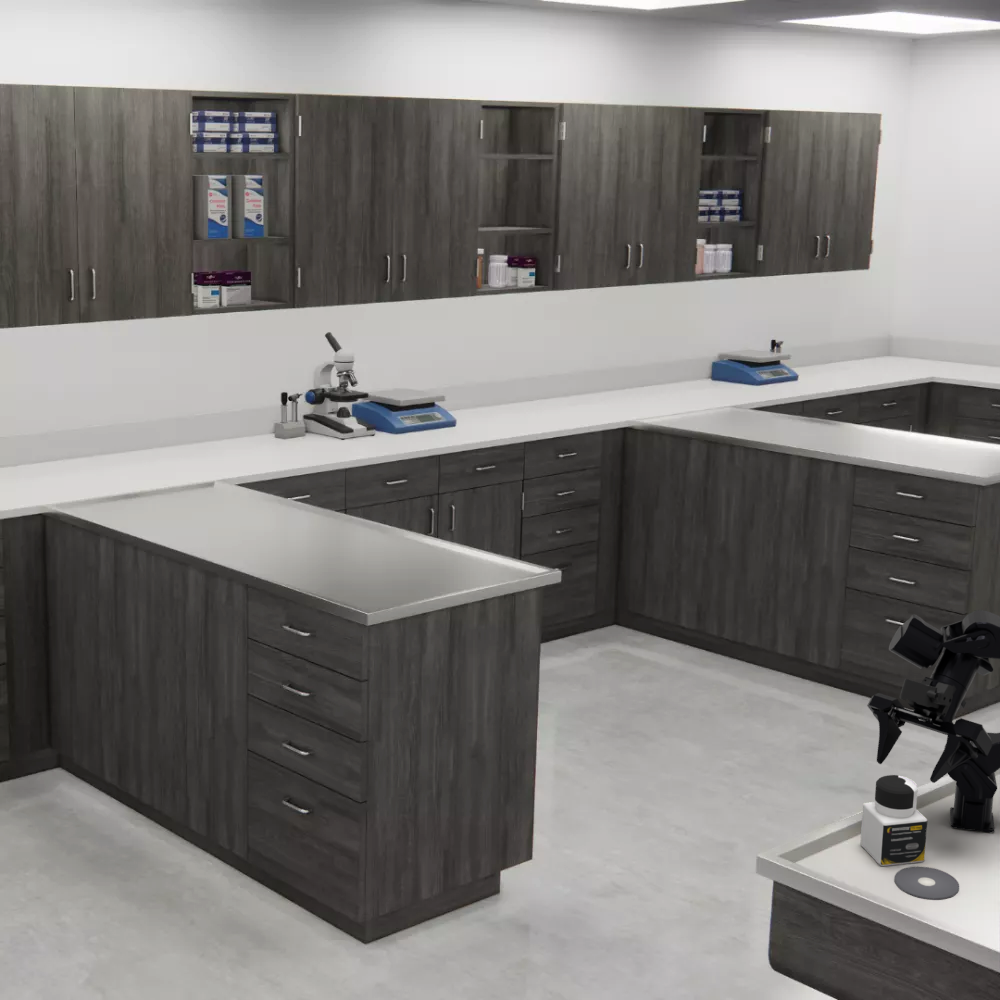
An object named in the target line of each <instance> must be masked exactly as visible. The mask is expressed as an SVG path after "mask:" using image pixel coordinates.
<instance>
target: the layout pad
mask: <svg viewBox="0 0 1000 1000" xmlns="http://www.w3.org/2000/svg"><path fill="white" fill-rule="evenodd" d="M894 884H895V885H896V886H897V887H898V889H899V890H901V891H902V892H904V893H906V894H908V895H910V896H913V897H916V898H921V899H924V900H938V901H939V900H946V899H949V898H951V897H954V896H956V895H957V894H958V893H959V890H960V884H959V881H958V880H957V879H956V878H955V877H954V876H952V875H951V874H949V873H948V872H945V871H944V870H941V869H937V868H935V867H934V868H933V867H929V866H918V865H917V866H909V867H904V868H901V869H900V870H898V871H897V872H896V873H895V875H894Z"/></svg>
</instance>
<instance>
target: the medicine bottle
mask: <svg viewBox="0 0 1000 1000" xmlns="http://www.w3.org/2000/svg"><path fill="white" fill-rule="evenodd" d="M918 787H919V786H918V784H917V783H916V782H915V781H914V780H913V779H911V778H910V777H909V778H908V777H906V776H903V775H897V774H890V775H889V774H888V775H883V776H881V777H879V778H878V779H877V780H876V782H875V792H874V801H870V802H863V804H862V813H861V829H860V846H861V847H863V849H864V850H865V851H866V852H867V853H868V854H869V855H870V856H871V857H872V858H873V860H874V861H876V863H878V865H879V866H880V867H888V866H889V867H890V866H897V865H907V864H913V863H914V864H916V863H923V862H925V856H926V841H927V831H928V829H927V828H928V818H927V817H925V816H924V814H922V813H921V812H920V811H919V810H918V809H917V806H918V805H917V804H918V791H919V790H918Z"/></svg>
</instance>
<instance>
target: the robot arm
mask: <svg viewBox="0 0 1000 1000" xmlns="http://www.w3.org/2000/svg"><path fill="white" fill-rule="evenodd" d="M888 651H890V652H891V653H893V654H895V655H897V656H898V657H899V658H901V659H903V660H905V661H906V662H908V663H910V664H912V665H914V666H915V667H917V668H919V669H920V670H921V669H923V668H924V669H928V668H929V667H930V668H932V667H933V666H934V665H935V664H936V666H935V668H934V669H933V671H932V673H931V674H930V677H928V676H925V677H924V678H922V679H923V680H921V682H918V681H915V680H911V679H908V678H904V680H903V684H902V688H901V691H900V693H899V698H896V697H894V696H890V695H886V694H884V693H881V692H878V693H875V694H874V695H872V696H871V698H869V699H870V700H869V701H868V704H867V705H866V707H867V708H868V709H869V710H870V711H871V713H872V715H873V716H874V717H875V719H876V720H877V722H878V726H879V727H878V729H879V731H878V732H879V733H878V734H879V735H878V743H877V744H878V745H877V751H876V752H877V754H876V763H878V764H879V765H882V764H883V762H885V760H886V759H887V758H888V757H889V754H890V752H891V751H892V750H893V748H894V746H895V744H896V742H898V740H899V738H900V737H901V735H902V732H903V731H902V730H901V727H903V726H905V724H906V723H908V724H912V725H915V726H917V727H920V728H924V729H927V730H930V731H933V732H936V733H939V734H943V735H946V736H947V738H946V743H945V745H944V748H943V749H944V750H943V751H942V753H941V755H940V757H939V759H938V761H937V762H936V764H935V766H934V768H933V769H932V773H931V775H930V778H929V780H930V781H931V782H932V784H935V783H936V782H938V781H939V780H940V779H942V778H943V777H944V776H946V775H948V777H950V778H951V779H952V780H953V781H955V782H956V783H955V790H954V791H955V792H954V804H953V807H950V808H949V816H950V818H949V820H950V827H951V828H954V829H959V830H967V831H969V830H970V831H978V832H983V833H984V832H985V833H995V828H996V827H995V820H994V819H995V818H994V814H993V802H994V796H995V794H996V792H997V790H998V783H997V779H996V772H997V771H998V770H1000V732H997V733H995V732H988V731H987V730H986V729H985V728H984V725H983V724H980V723H977V722H974V721H972V720H968V719H964V718H961V717H960V718H958V719H956V720H955V722H953V721H954V719H955V717H956V715H957V713H958V710H959V709H960V708H961V709H965V706H966V704H967V702H966V700H965V696H966V694H967V692H968V691H969V689H970V687H971V685H972V682H973V681H974V678H975V676H976V674H979V675H981V676H986V675H989V674H991V673H993V672H994V667H993V665H992V664H991V662H990V659H993V660H994V659H995V660H997V659H998V660H1000V615H998V614H996V613H993V612H990V611H988V610H985V609H984V610H982V609H976V610H974V611H972V612H970V613H968V614H967V615H966V616H965V617H964V618H963V619H962V620H957V621H956V622H951V623H950V624H949V623H948V624H946V625H943V626H941V627H940V629H938V628H937V627H935V626H933V625H932V624H930V623H929V622H926V621H925V620H924V619H923V618H922V617H920V616H919V615H917V614H916V613H913V614H911V615H910V617H909V619H907V620H906V621H904V622H903V624H902V625H899V627H898V629H897V630H896V632H895V633H894V635H893V636H892V638H891V641H890V643H889V646H888ZM937 661H938V662H937ZM936 662H937V663H936ZM899 699H900V700H902V701H903V700H904V701H908V702H907V704H908V705H909V707H910V708H913V710H911V709H907V708H905V707H904V705H903V704H902V703H901V702H900V700H899Z"/></svg>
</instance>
